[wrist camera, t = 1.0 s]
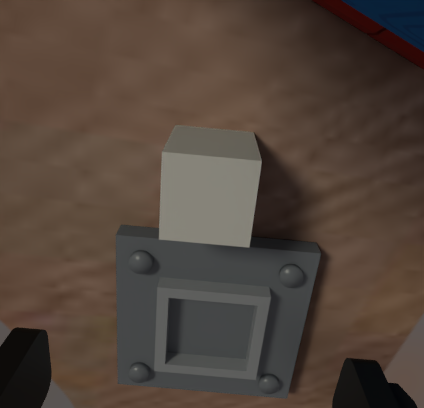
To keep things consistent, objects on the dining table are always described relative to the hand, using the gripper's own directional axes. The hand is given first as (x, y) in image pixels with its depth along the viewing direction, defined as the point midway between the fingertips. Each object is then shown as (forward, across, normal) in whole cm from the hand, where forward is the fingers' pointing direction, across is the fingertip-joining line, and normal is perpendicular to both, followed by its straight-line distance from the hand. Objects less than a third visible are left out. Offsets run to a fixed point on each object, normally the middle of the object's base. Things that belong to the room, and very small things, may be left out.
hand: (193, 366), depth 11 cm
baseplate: (+17, -1, +12) cm, 21 cm away
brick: (+17, 0, 0) cm, 17 cm away
